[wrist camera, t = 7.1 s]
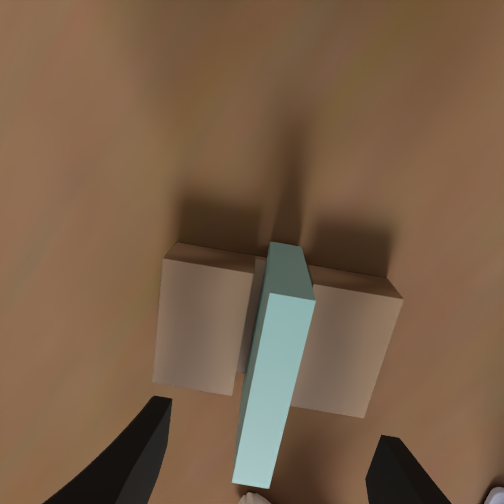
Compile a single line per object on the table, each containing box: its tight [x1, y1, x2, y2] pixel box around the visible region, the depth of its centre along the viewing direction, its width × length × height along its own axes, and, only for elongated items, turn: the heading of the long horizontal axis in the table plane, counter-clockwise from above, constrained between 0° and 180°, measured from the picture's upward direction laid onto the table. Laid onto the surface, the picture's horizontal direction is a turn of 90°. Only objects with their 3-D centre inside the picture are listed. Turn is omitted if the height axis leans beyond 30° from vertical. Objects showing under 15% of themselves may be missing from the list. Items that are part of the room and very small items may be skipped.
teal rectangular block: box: [232, 241, 316, 489], centre depth 16 cm, size 2×9×6 cm, turn 171°
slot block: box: [152, 242, 404, 418], centre depth 19 cm, size 11×7×2 cm, turn 81°
